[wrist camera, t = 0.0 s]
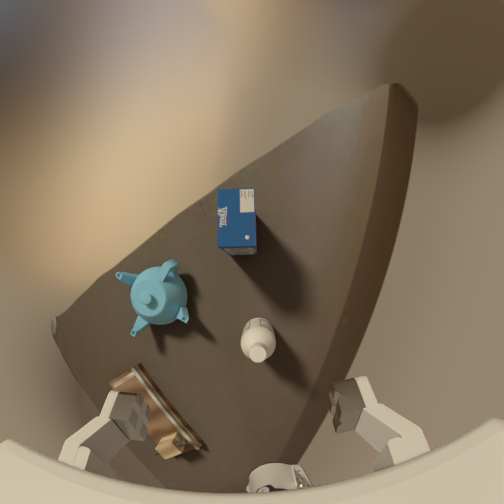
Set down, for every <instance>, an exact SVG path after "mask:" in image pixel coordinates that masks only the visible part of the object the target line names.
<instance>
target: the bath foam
mask: <svg viewBox="0 0 504 504" xmlns="http://www.w3.org/2000/svg"><path fill="white" fill-rule="evenodd" d="M275 347H276V338H275V334H274V331H273V327H272V325H271V324H270V322H269V321H267V320H266V319H264V318H254V319H251V320H250V321H248V322H247V324H246V325H245V327H244V330H243V334H242V337H241V348H242V351H243V353H244V354H245V355H246V356H247V357H248V358H250V359H251V360H252V361H254V362H257V363H259V362H262V361H264V360H265V359H267V358H268V357H270V356H271V355H272V353H273V352H274V350H275Z"/></svg>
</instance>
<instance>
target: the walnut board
mask: <svg viewBox="0 0 504 504" xmlns="http://www.w3.org/2000/svg"><path fill="white" fill-rule="evenodd" d="M109 384H110V385H111V387H112V388H113V390H114V391H121V392H129V393H139V394H142V396H143V397H144V400H143V401H144V402H146V403H147V404H148V405H149V407H150V410H151V419H150V422H149V423H148V424H147V425H146V427H147V429H148V431H147V433H148V434H149V435H150V437H151V438H152V439H153V440H154V441H155V442H156V443H157V444H159V442H160V440H161V439H162V438H163V437H166V436H168V435H171V434H173V433H175V432H177V431H178V432H179V433H180V435H181V436H182V437H183V438H184V439H186V440H187V444H186V445H185V447H184V449H183V451H182V453H185V452H187V451H190V450H192V449H196V450H198V449H200V447H201V446H202V445H203V441H202V440H201V439H200V437H199V436H198V435H197V434H196V433H195V432H194V431H193V430H192V429H191V427H190V426H189V425H188V424H187V423H186V422H185V420H184V419H183V418H182V417H181V416H180V415H179V413H178V412H177V411H176V410H175V409H174V407H173V406H172V405H171V404H170V402H169V401H168V400H167V399H166V397H165V396H164V395H163V393H162V392H161V391H160V389H159V388H158V387H157V385H156V384H155V383H154V381H153V380H152V379H151V377H150V376H149V375H148V373H147V372H146V370H145V369H144V367H143V366H142V365H141V363H139V364H138V365H136V366H134V367H133V368H131V369H130V370H128V371H126V372H125V373H123V374H121V375H120V376H118V377H116V378H115V379H113V380H111V381H110V382H109ZM182 453H181V454H182ZM178 455H180V454H178ZM176 456H177V455H176ZM173 457H174V456H173ZM170 458H172V457H170Z"/></svg>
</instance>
